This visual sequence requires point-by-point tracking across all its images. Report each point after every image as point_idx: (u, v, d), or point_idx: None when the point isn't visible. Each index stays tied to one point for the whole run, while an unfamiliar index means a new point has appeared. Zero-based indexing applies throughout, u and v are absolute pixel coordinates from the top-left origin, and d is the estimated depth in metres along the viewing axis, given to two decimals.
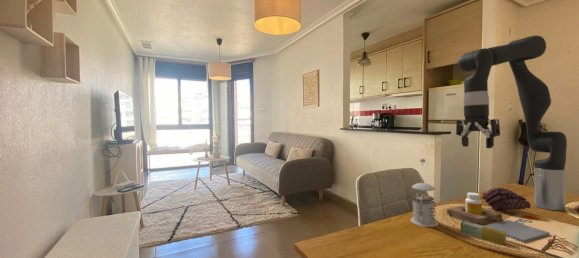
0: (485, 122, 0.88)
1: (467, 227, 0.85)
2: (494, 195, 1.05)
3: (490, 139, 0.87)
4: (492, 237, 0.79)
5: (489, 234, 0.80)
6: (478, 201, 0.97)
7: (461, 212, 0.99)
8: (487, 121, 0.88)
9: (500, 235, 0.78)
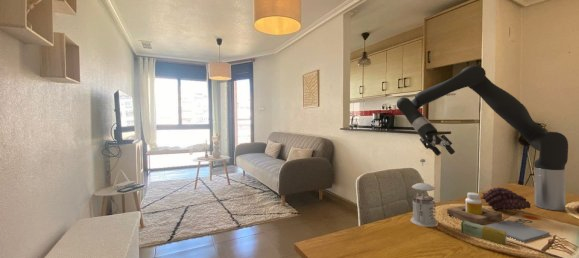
0: None
1: (468, 227, 0.85)
2: (494, 195, 1.05)
3: (432, 150, 1.10)
4: (492, 237, 0.80)
5: (489, 234, 0.80)
6: (478, 201, 0.97)
7: (461, 212, 0.99)
8: None
9: (500, 235, 0.78)
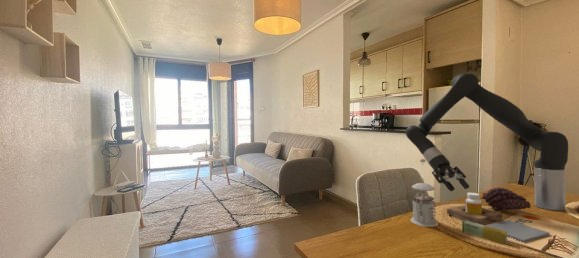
0: None
1: (469, 226, 0.85)
2: (494, 195, 1.05)
3: None
4: (493, 236, 0.80)
5: (490, 233, 0.80)
6: (478, 201, 0.97)
7: (461, 212, 0.99)
8: None
9: (501, 234, 0.78)
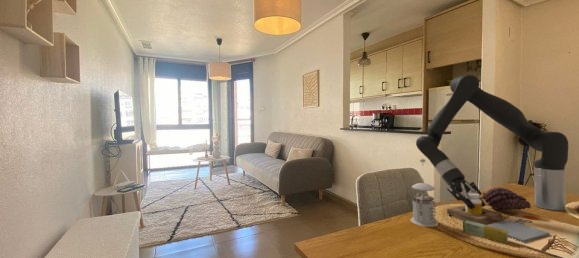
0: None
1: (469, 226, 0.86)
2: (494, 195, 1.05)
3: None
4: (494, 236, 0.80)
5: (491, 233, 0.81)
6: (478, 201, 0.97)
7: (461, 212, 0.99)
8: None
9: (502, 234, 0.79)
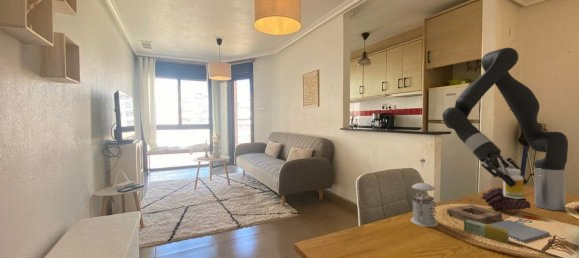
0: None
1: (470, 225, 0.86)
2: (494, 195, 1.05)
3: (502, 178, 0.86)
4: (495, 235, 0.81)
5: (492, 232, 0.81)
6: (519, 177, 0.84)
7: (461, 212, 0.99)
8: None
9: (502, 233, 0.79)
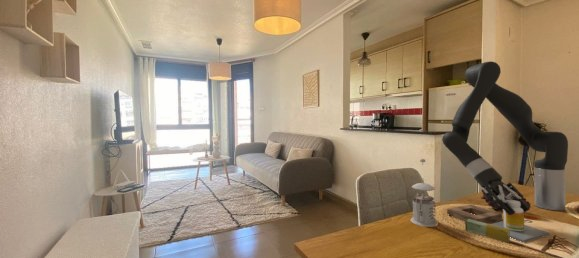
0: None
1: (471, 224, 0.87)
2: None
3: (501, 206, 0.86)
4: (496, 234, 0.81)
5: (493, 232, 0.82)
6: (520, 210, 0.84)
7: (461, 212, 0.99)
8: None
9: (503, 233, 0.79)
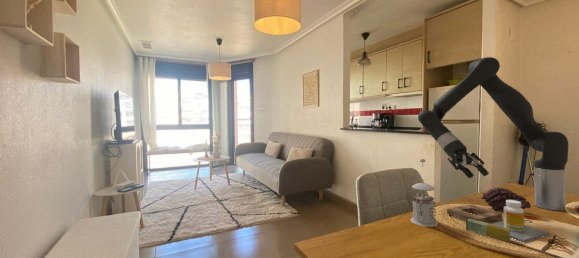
0: None
1: (472, 224, 0.87)
2: (494, 195, 1.05)
3: (463, 171, 0.98)
4: (496, 234, 0.81)
5: (494, 231, 0.82)
6: (520, 210, 0.84)
7: (461, 212, 0.99)
8: None
9: (504, 232, 0.80)
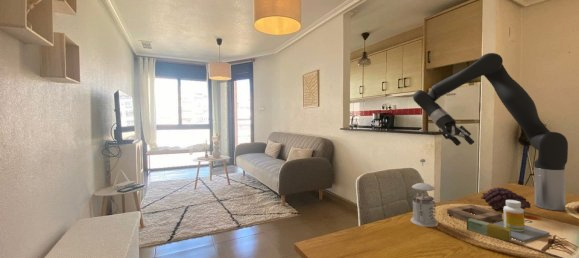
0: None
1: (473, 224, 0.87)
2: (494, 195, 1.05)
3: None
4: (497, 234, 0.82)
5: (494, 231, 0.82)
6: (520, 210, 0.84)
7: (461, 212, 0.99)
8: None
9: (505, 232, 0.80)
